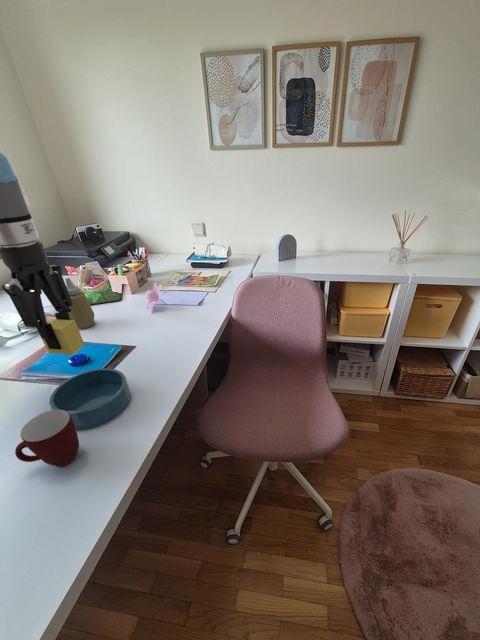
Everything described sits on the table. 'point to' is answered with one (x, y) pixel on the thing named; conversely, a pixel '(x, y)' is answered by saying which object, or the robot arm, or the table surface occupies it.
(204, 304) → the table surface
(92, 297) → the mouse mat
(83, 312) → the squeeze bottle
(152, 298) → the lily
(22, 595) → the table surface
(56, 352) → the sponge
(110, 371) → the bowl
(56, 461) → the mug
